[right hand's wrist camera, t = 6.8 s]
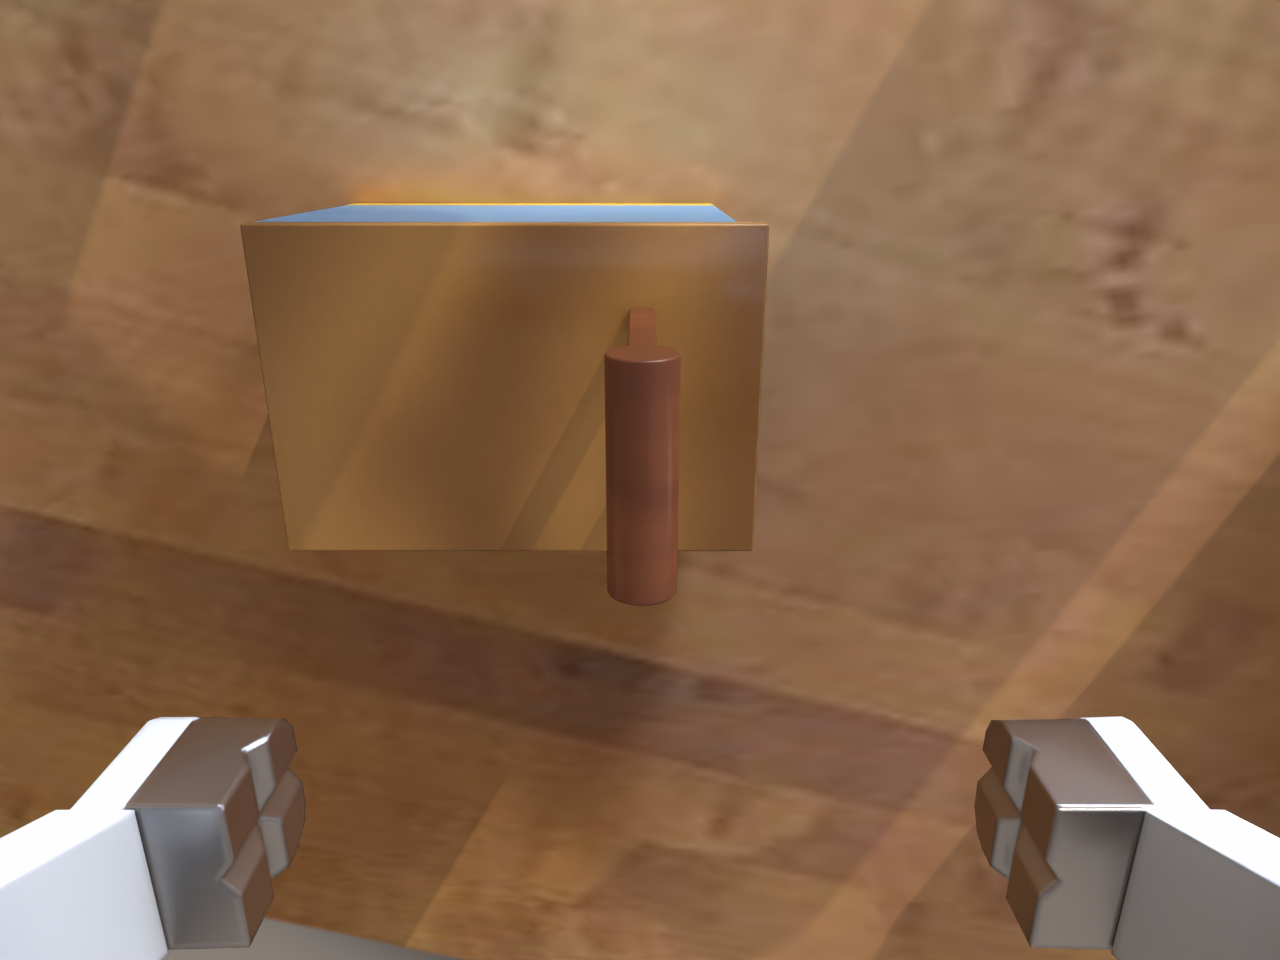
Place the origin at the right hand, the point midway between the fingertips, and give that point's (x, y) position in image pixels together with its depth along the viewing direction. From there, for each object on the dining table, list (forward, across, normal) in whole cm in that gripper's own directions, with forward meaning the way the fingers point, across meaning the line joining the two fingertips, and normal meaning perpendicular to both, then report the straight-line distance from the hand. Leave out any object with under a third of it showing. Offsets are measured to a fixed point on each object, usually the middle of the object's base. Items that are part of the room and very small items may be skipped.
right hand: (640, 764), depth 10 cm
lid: (+17, -4, 0) cm, 18 cm away
